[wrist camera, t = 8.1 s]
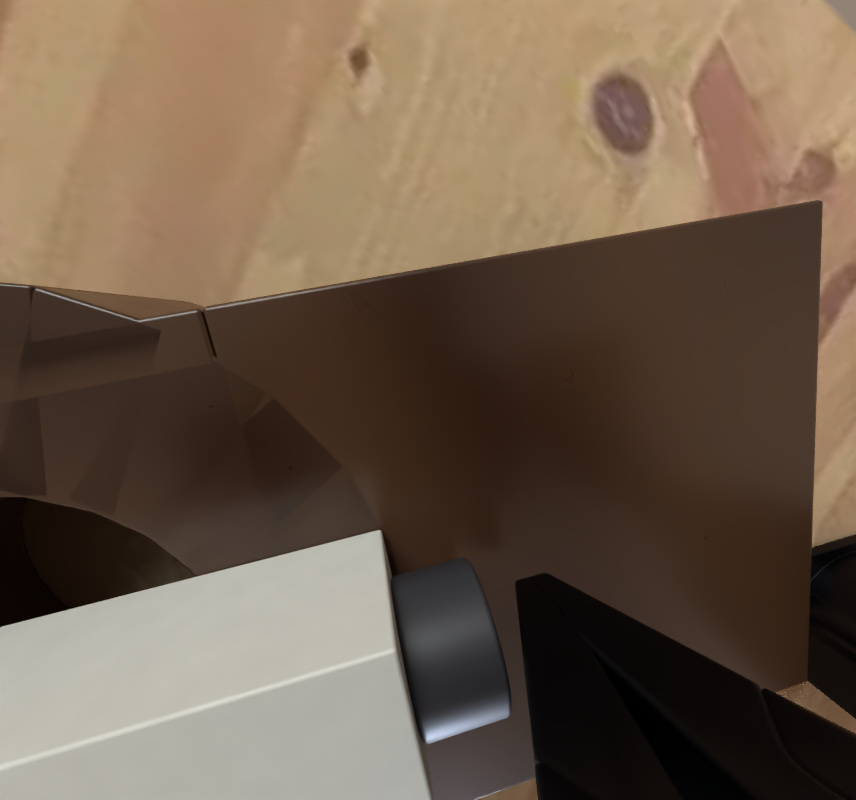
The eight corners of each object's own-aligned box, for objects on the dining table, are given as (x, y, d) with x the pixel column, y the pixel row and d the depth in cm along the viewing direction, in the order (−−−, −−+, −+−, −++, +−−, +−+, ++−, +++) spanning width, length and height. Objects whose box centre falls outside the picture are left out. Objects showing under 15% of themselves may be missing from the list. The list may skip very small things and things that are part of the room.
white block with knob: (451, 510, 8) (504, 617, 5) (474, 636, 9) (534, 794, 6) (-93, 648, 7) (-423, 894, 4) (-17, 784, 7) (-252, 1080, 5)
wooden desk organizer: (627, 210, 14) (827, 131, 8) (652, 581, 17) (808, 718, 11) (-225, 352, 10) (-937, 393, 5) (4, 776, 14) (-254, 1113, 8)
